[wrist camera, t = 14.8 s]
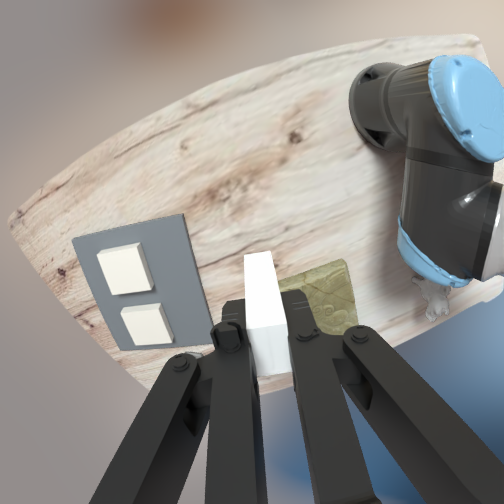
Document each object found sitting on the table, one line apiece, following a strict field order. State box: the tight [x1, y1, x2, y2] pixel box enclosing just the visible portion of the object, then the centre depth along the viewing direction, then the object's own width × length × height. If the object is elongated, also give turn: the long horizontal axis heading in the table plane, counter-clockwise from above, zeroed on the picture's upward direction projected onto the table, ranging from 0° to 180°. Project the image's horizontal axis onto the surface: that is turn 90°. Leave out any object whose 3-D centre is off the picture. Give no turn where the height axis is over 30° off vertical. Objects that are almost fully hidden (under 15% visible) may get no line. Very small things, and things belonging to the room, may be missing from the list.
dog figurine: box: [412, 277, 451, 322], centre depth 47 cm, size 5×13×11 cm, turn 172°
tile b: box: [120, 303, 174, 345], centre depth 51 cm, size 2×8×8 cm
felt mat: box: [72, 214, 214, 350], centre depth 50 cm, size 22×26×1 cm
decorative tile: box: [277, 259, 358, 335], centre depth 53 cm, size 19×20×4 cm
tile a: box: [97, 242, 154, 295], centre depth 46 cm, size 2×8×8 cm
